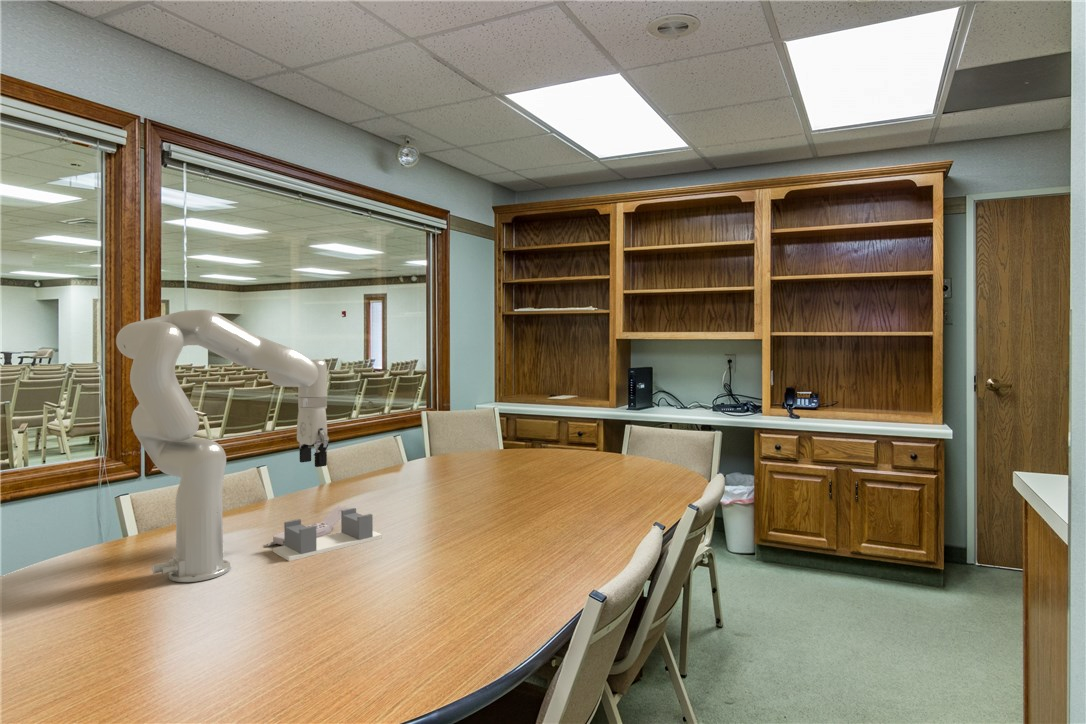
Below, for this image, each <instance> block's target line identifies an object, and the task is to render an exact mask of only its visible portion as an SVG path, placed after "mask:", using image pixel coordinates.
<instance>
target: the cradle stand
mask: <svg viewBox="0 0 1086 724" xmlns="http://www.w3.org/2000/svg"><path fill="white" fill-rule="evenodd" d="M350 508H351V509H346V510H341V520H340V521H341V523H340V525H341V526H340V527H341V529H340V530H341V532H338V533H337V532H336V533H333V534H327V535H323V536H320V537H317V538H316V526H311V527H306V526H307V525H304V524H302V519H300V518H298V519H292V520H286V521H284V523H283V526H284V528H283V529H284V530H283V531H284V537H285V545H280V546H277V547H273V548H272V553H275V555H278V556H280V557H281V558H283V559H285V560H287V561H288V562H293V561H296V560H299V559H304V558H307V557H311V556H312V557H313V556H315V555H320V554H323V553H324V554H325V553H327V552H331V551H336V550H339V549H344V548H348V547H351V546H356V545H361V544H363V543H368V542H372V541H375V540H376V541H377V540H381V539H383V534H382V533H379V532H377V531H375V530H373V528H374V527H373V514H372V513H367V514H361V513H358V512H357V508H355V507H350Z"/></svg>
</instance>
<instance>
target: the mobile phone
mask: <svg viewBox="0 0 1086 724" xmlns="http://www.w3.org/2000/svg"><path fill="white" fill-rule="evenodd" d="M351 508H352V507H349V506H343V505H338V506H336V507H335V508H333V510H332V511H331V512H330V513H329V514H328V515H327V516H326V517H325V518H323V520H322V521H321V522H317V523H313V524H310V525H305V526H306V527H311V526H316V538H319V537H323V536H327V535H330V534H331V533H332V529H333V527H334V526H336V524H338V522H340V521H341V510H346V509H351ZM274 545H276V546H277V545H280V546H284V545H285V537H284V530H283V531H281V532H278V533H276V534H274V535H273V538H272V541H270V542H268V543H266V547H271V546H274Z"/></svg>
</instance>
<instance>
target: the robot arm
mask: <svg viewBox="0 0 1086 724" xmlns="http://www.w3.org/2000/svg"><path fill="white" fill-rule="evenodd" d="M115 344H116V347H117V349H118V351H119V352H120V354H122V355H123V356H124V357H127V358H128V359H131V360H133V361H132V364H131V368H130V373H129V374H130V375H129V382H130V386H131V390H132V392H133V394H134V396H135V397H136V400H137V401H138V405H136V407H135V408H134V409H133V411H132V414H131V419H130V420H131V421H130V423H131V427H132V430H133V431H132V432H133V433H134V435H135V436H136V439H138V441H139V443H140V444H141V446H142V448H143V449H144V451H145V452H146V453H147V455H148V456H149V458H150V460H151V461H152V463H153V465H155V467H157V469H158V470H160V471H161V472H162V473H163V474H165V475H167V476H172V477H176V478H180V482H179V485H178V487H177V491H176V495H175V496H176V497H175V542H176V543H175V546H176V547H175V549H176V550H175V551H176V553H175V555H172V557H171V558H172V559H170V560H168V561H167V562H163V563H157V564H154V565H152V566H151V571H152V574H153V575H155V574H159V573H160V574H161V575H164V574H168V579H169V580H170V581H172V582H176V583H196V582H203V581H207V580H212V579H215V578H217V577H220V576H222V575H224V574H226V573H228V571H230V569H231V562H230V561H228V560H225V559H224V545H223V544H224V541H223V538H224V537H223V536H224V535H223V534H224V533H223V532H224V530H223V526H224V525H223V523H224V522H223V487H224V486H223V484H224V477H225V471H226V466H227V453H226V451H225V450H224V448H223V447H222V446H221V444H220V443H218V442H217V441H214V440H211V439H208V438H202V437H201V438H200V437H193V436H195V435H196V434H197V433H198V430H199V427H200V419H199V416H198V413H197V412H196V410H195V409H194V407H193V405H192V404H191V402H190V400H189V398H188V397H187V395H186V393H185V392H184V390H183V388H182V387H181V384H180V383H179V381H178V378H177V376H176V365H177V362H178V358H179V356H180V354H181V352H182V351H183V348H184V347H186V346H199V347H202V348H204V349H205V350H208V351H210V352H212V353H214V354H216V355H218V356H219V357H222V358H224V359H226V360H228V361H230V362H232V363H234V364H236V365H237V366H238V365H239V366H242V367H246V368H250V369H256V370H262V371H266V376H267V378H268V379H267V380H269V381H270V382H271V383H272V384H273V385H275V386H278V387H283V388H284V387H286V388H291V387H295V388H297V389H298V391H297V392H298V393H297V396H298V397H297V399H298V400H297V401H298V402H297V403H298V406H297V407H298V413H297V420H296V421H297V423H296V426H297V427H296V442H298V443H299V444H298V448H299V462H300V463H307V462H308V463H309V462H311V461H312V447H311V446H312V445H313V446H314V449H315V452H314V467H315V468H319V467H327V465H328V463H327V462H328V461H327V459H328V457H327V456H328V455H327V454H328V446H329V440H330V437H329V436H328V422H327V420H328V418H327V412H326V410H327V408H328V379H327V377H328V373H327V372H328V367H327V366H328V365H327V361H325V360H324V359H311V358H309V357H308V356H305V355H304V354H302V353H300V352H299V351H297V350H294V349H292V348H290V347H288V346H286V345H283V344H280V343H278V342H274V341H273V340H270V339H267V338H265V337H262V336H260V335H256V334H255V333H253V332H251V331H249V330H248V329H246V328H244V327H242V326H240V325H238V324H236V323H235V322H233V321H231V320H229V319H228V318H226V317H224V316H223V315H221V314H219V313H217V312H216V311H212V310H209V309H190V310H189V309H188V310H181V311H175V312H173V313H168V314H164V315H161V316H156V317H152V318H147V319H143V320H139V321H134V322H131V323H128V324H126V325H124V326H123V327H122V328H120V330H119V331H118V333H117V335H116V338H115Z"/></svg>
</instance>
